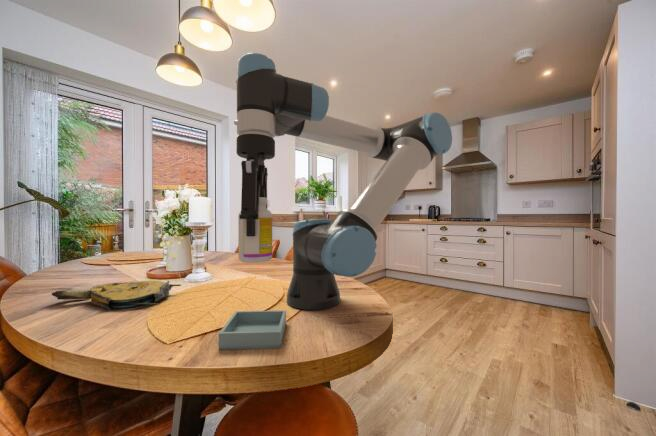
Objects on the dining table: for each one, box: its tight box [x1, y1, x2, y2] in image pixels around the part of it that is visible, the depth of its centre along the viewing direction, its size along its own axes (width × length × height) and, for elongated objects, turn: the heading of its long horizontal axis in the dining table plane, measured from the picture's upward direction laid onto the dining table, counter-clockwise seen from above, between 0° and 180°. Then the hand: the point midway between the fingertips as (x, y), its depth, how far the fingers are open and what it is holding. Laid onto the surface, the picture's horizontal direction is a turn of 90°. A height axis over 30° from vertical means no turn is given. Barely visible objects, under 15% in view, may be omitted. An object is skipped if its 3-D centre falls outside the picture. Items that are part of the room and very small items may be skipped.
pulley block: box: [51, 280, 182, 311], centre depth 75 cm, size 14×6×30 cm
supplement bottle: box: [237, 197, 273, 264], centre depth 55 cm, size 7×7×13 cm
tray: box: [218, 310, 287, 351], centre depth 55 cm, size 11×11×3 cm
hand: (255, 250), depth 55 cm, fingers closed on supplement bottle, 7 cm apart
